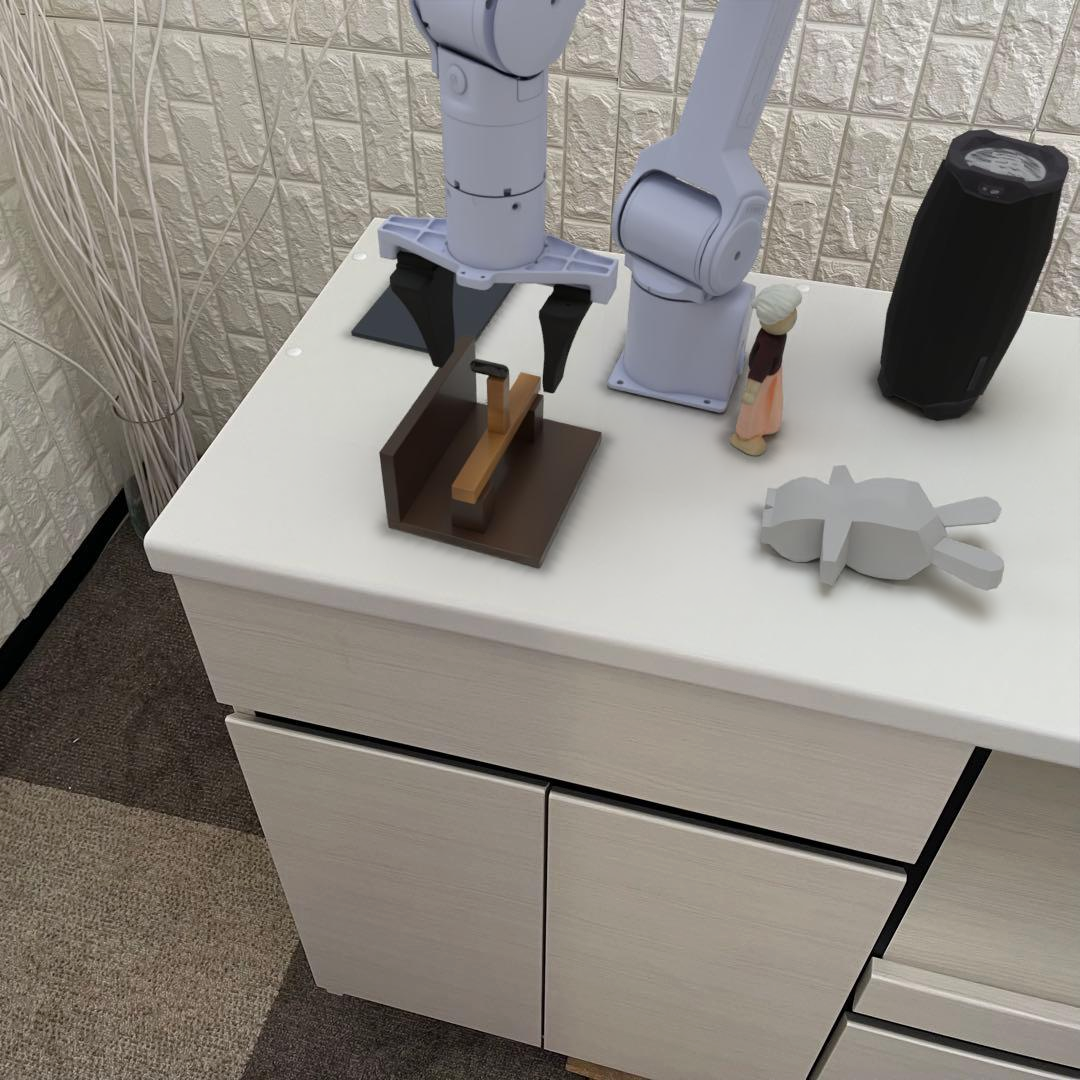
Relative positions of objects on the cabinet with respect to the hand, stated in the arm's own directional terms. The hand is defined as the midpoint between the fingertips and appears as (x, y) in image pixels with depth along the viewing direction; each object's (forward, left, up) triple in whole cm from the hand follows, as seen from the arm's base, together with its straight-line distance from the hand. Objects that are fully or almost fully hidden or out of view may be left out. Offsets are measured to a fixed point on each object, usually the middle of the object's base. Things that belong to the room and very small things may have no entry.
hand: (497, 371), depth 69 cm
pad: (+13, -19, -10) cm, 25 cm away
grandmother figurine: (-16, -12, -10) cm, 22 cm away
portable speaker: (-28, -22, -10) cm, 37 cm away
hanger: (0, 0, -6) cm, 6 cm away
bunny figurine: (-26, -2, -10) cm, 28 cm away
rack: (0, 0, -10) cm, 10 cm away
